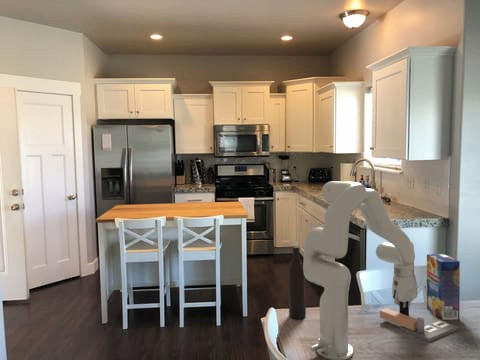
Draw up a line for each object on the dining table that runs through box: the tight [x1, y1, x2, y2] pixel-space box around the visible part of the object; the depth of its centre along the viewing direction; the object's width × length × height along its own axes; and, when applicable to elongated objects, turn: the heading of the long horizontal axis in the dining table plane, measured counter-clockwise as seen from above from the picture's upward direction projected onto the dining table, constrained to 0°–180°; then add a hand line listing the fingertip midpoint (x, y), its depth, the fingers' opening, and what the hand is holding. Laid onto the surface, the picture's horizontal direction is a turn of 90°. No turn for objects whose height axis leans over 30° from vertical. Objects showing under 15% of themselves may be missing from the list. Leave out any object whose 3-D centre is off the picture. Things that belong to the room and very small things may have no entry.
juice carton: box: [426, 253, 461, 321], centre depth 157 cm, size 12×8×24 cm, turn 0°
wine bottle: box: [287, 246, 307, 320], centre depth 159 cm, size 7×7×30 cm
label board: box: [399, 315, 459, 343], centre depth 144 cm, size 18×12×6 cm, turn 119°
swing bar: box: [379, 307, 417, 331], centre depth 147 cm, size 14×4×3 cm, turn 33°
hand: (404, 315), depth 152 cm, fingers closed
